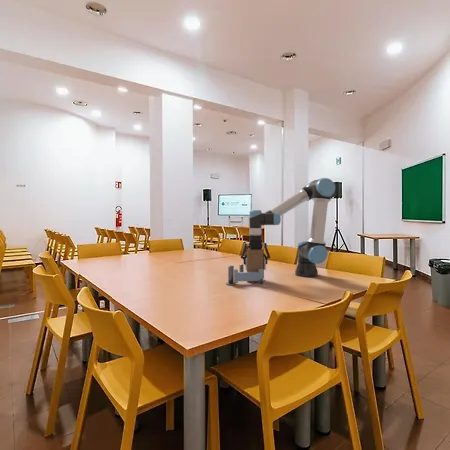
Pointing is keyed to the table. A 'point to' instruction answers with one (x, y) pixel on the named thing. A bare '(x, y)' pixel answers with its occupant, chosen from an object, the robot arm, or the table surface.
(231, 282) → the gate posts
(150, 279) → the table surface
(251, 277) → the grey i-beam block
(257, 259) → the wooden block
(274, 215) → the robot arm
